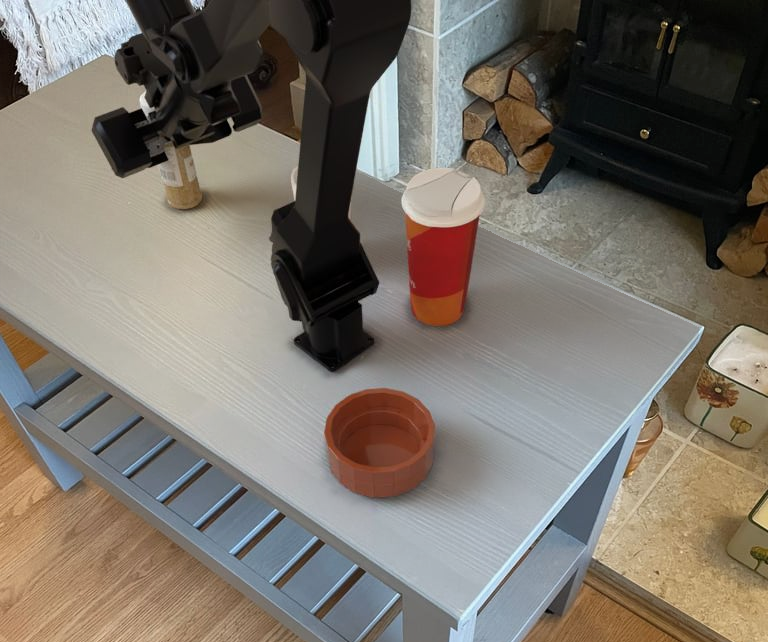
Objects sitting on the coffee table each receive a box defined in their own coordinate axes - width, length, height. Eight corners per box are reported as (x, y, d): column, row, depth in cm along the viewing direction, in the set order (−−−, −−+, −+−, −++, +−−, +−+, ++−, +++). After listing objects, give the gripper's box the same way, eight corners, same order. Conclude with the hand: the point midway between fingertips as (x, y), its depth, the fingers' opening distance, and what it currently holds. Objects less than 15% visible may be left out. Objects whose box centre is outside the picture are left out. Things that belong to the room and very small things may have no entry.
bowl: (455, 458, 78) (457, 428, 75) (378, 520, 74) (377, 491, 71) (382, 403, 83) (381, 371, 79) (306, 458, 79) (301, 428, 75)
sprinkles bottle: (210, 200, 103) (186, 94, 92) (180, 215, 101) (153, 110, 90) (189, 185, 105) (163, 80, 94) (160, 200, 103) (130, 95, 92)
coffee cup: (430, 274, 94) (435, 154, 82) (488, 304, 91) (502, 184, 78) (385, 312, 90) (383, 193, 78) (444, 344, 87) (451, 225, 75)
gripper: (232, -12, 85) (201, 56, 99) (68, 43, 79) (60, 107, 93) (281, 93, 88) (245, 145, 102) (127, 154, 82) (111, 200, 96)
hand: (167, 147), depth 98 cm, fingers closed on sprinkles bottle, 4 cm apart
